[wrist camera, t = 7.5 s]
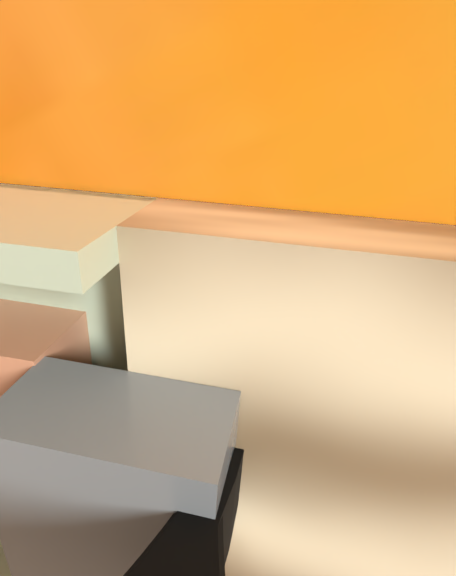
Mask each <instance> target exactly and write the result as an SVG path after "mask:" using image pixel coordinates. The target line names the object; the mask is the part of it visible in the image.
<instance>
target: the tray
mask: <svg viewBox="0 0 456 576" xmlns="http://www.w3.org/2000/svg"><path fill="white" fill-rule="evenodd" d="M156 199H157V198H155V197H145V196H134V195H123V194H112V193H102V192H91V191H80V190H69V189H58V188H48V187H37V186H26V185H15V184H5V183H0V299H6V300H12V301H19V302H26V303H32V304H39V305H46V306H52V307H59V308H65V309H72V310H79V311H85V312H86V316H87V324H88V333H89V342H90V350H91V359H92V365H96V366H102V367H108V368H113V369H119V370H124V371H128V366H127V354H126V341H125V329H124V317H123V304H122V292H121V280H120V267H119V255H118V243H117V230H116V226H117V225H118V224H120V223H121V222H123V221H124V220H126V219H127V218H129V217H130V216H132V215H133V214H135V213H136V212H138V211H139V210H141V209H142V208H144V207H145V206H147V205H148V204H150V203H151V202H153V201H154V200H156ZM0 576H11V573H10V569H9V566H8V563H7V560H6V557H5V554H4V551H3V547H2V544H1V541H0Z"/></svg>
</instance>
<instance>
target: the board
mask: <svg viewBox="0 0 456 576" xmlns="http://www.w3.org/2000/svg"><path fill="white" fill-rule="evenodd" d="M116 230H117V243H118V255H119V267H120V280H121V292H122V304H123V317H124V329H125V341H126V354H127V366H128V371H130V372H136V373H141V374H147V375H152V376H158V377H164V378H169V379H175V380H180V381H186V382H192V383H197V384H203V385H209V386H214V387H220V388H225V389H231V390H237V391H241V397H240V407H239V418H238V428H237V439H236V448H240V449H244V455H243V464H242V473H241V482H240V492H239V501H238V508H237V513H236V518H235V523H234V528H233V533H232V538H231V543H230V548H229V552H228V556H227V559H226V563H225V576H456V225H446V224H435V223H425V222H414V221H403V220H392V219H382V218H371V217H360V216H349V215H338V214H328V213H317V212H306V211H295V210H285V209H274V208H263V207H252V206H242V205H231V204H220V203H209V202H198V201H188V200H177V199H166V198H157V199H156V200H154V201H153V202H151V203H150V204H148V205H147V206H145V207H144V208H142V209H141V210H139V211H138V212H136V213H135V214H133V215H132V216H130V217H129V218H127V219H126V220H124V221H123V222H121V223H120V224H118V225H117V226H116Z"/></svg>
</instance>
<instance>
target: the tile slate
mask: <svg viewBox="0 0 456 576" xmlns="http://www.w3.org/2000/svg"><path fill="white" fill-rule="evenodd" d="M240 397H241V391H237V390H231V389H225V388H220V387H214V386H209V385H203V384H197V383H192V382H186V381H180V380H175V379H169V378H164V377H158V376H152V375H147V374H141V373H136V372H130V371H124V370H119V369H113V368H108V367H102V366H96V365H91V364H85V363H80V362H74V361H68V360H63V359H57V358H52V357H46V356H45V357H44V358H43V359H42V360H41V361H40V362H38V363H37V364H36V365H35V366H32V367H31V368H30V369H29V370H28V371H27V372H26V373H25V374H24V375H23V376H22V377H21V378H20V379H19V380H18V381H17V382H16V383H15V384H14V385H12V386H11V387H10V388H9V389H8V390H7V391H6V392H5V393H4V394H3V395H2V396H1V397H0V541H1V544H2V547H3V551H4V554H5V557H6V560H7V563H8V566H9V569H10V573H11V576H123V575H124V574H125V573H126V572H127V571H128V569H129V568H130V567H131V566H132V565H133V564H134V562H135V561H136V560H137V559H138V558H139V557H140V555H141V554H142V553H143V552H144V550H145V549H146V548H147V547H148V545H149V544H150V543H151V542H152V540H153V539H154V538H155V537H156V535H157V534H158V533H159V532H160V530H161V529H162V528H163V527H164V525H165V524H166V523H167V521H168V520H169V519H170V517H171V516H172V514H173V513H176V512H177V511H180V512H184V513H189V514H193V515H197V516H202V517H206V518H210V519H216V515H217V511H218V507H219V503H220V499H221V495H222V491H223V487H224V483H225V479H226V476H227V472H228V468H229V464H230V461H231V457H232V454H233V450H234V447H235V448H236V439H237V428H238V418H239V407H240Z"/></svg>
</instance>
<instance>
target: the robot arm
mask: <svg viewBox="0 0 456 576" xmlns="http://www.w3.org/2000/svg"><path fill="white" fill-rule="evenodd" d="M243 455H244V449H240V448H235V447H234V450H233V454H232V457H231V461H230V464H229V468H228V472H227V476H226V479H225V483H224V487H223V491H222V495H221V499H220V503H219V507H218V511H217V515H216V519H210V518H206V517H202V516H197V515H193V514H189V513H184V512H180V511H177V512H176V513H173V514H172V516H171V517H170V519H169V520H168V521H167V523H166V524H165V525H164V527H163V528H162V529H161V530H160V532H159V533H158V534H157V535H156V537H155V538H154V539H153V540H152V542H151V543H150V544H149V545H148V547H147V548H146V549H145V550H144V552H143V553H142V554H141V555H140V557H139V558H138V559H137V560H136V561H135V562H134V564H133V565H132V566H131V567H130V568H129V569H128V571H127V572H126V573H125V574H124V575H123V576H225V563H226V559H227V556H228V552H229V548H230V543H231V538H232V533H233V528H234V523H235V518H236V513H237V508H238V501H239V492H240V482H241V473H242V464H243Z"/></svg>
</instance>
